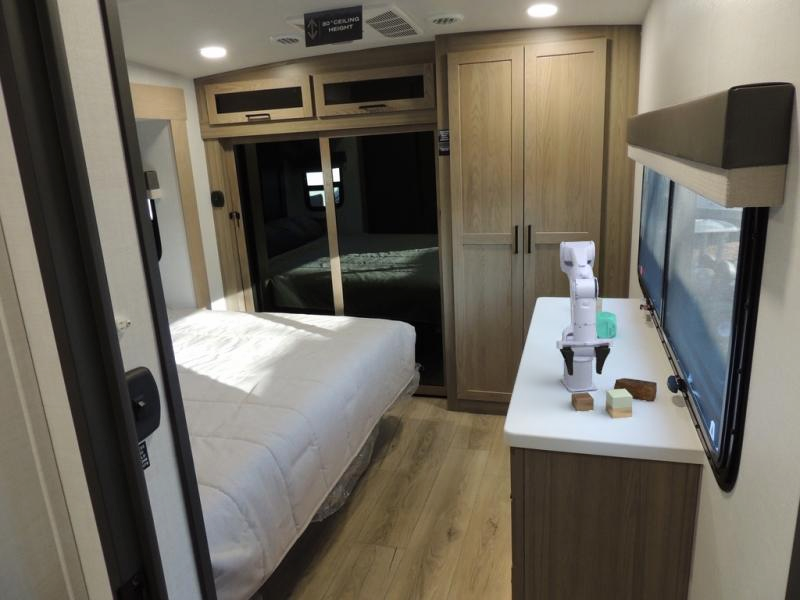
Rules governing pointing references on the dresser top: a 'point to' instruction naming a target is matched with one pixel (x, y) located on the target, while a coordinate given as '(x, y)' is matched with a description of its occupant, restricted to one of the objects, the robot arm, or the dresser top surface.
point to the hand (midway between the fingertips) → (584, 374)
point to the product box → (598, 304)
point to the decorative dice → (606, 325)
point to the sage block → (619, 398)
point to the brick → (638, 388)
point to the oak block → (618, 411)
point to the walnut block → (582, 401)
